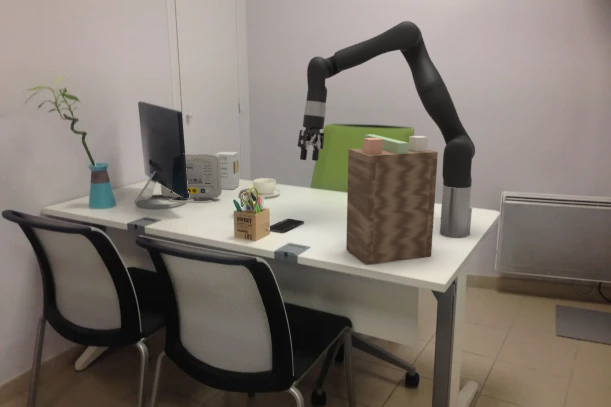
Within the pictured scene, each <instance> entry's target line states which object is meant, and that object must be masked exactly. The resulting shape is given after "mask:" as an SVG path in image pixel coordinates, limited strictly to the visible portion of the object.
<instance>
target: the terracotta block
mask: <svg viewBox="0 0 611 407" xmlns="http://www.w3.org/2000/svg"><path fill="white" fill-rule="evenodd" d="M382 145H383V139H379V138H365V137H364V138H363V147H362V148H363V152H364V153H368V154H381V153H382Z"/></svg>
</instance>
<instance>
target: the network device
mask: <svg viewBox="0 0 611 407" xmlns="http://www.w3.org/2000/svg"><path fill="white" fill-rule="evenodd" d="M184 154H185V155H186V168H187V181H188V191H189V195H190V198H189V199H188V198H187V199H188V200H187V199H186V200H179V199H182V198H181V197H180V196H179V195H177V194H175V193H173V192H172V191H170V190H169V189H167V188H166V187H164V186H163V185H161V184H160V190H161V195H162V196H163V197H171V198H169V199H168V201H169V203H183V202H186V203H189V204H190V203H192V204H198V203H199V204H209V203H212V202H213V201H214V200H215V199H216V198H219V197H220V196H221V195H222V189H221V165H220V156H219V155H217V153H214V154H213V153H184ZM178 197H180V198H178ZM173 199H174V200H173ZM177 199H178V200H177ZM199 199H200V200H199ZM201 199H205V200H201ZM207 199H208V200H207ZM186 203H185V204H186Z"/></svg>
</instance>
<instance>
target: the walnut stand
mask: <svg viewBox="0 0 611 407" xmlns="http://www.w3.org/2000/svg"><path fill="white" fill-rule="evenodd" d="M438 154H439V151H434V150H430V149H428V151H412V150H409V148H408V153H407V154H397V153H394V152H390V151H387V150H383V149H382V153H381V154H368V153H364V152H363V147H361V148H360V147H359V148H348V152H347V155H348V156H347V158H348V159H347V160H348V161H347V194H346V195H347V199H346V200H347V202H346V203H347V205H346V239H345V240H346V244H345V245H346V247H345V248H346V249H345V250H346V251H347V252H348V253H349V254H350V255H352V256H353V257H354V258H356V259H357V260H359V261H360V262H361V263H363V264H364V265H365V266H369V265H376V264H385V263H392V262H398V261H399V262H401V261H406V260H412V259H415V260H416V259H420V258H421V259H422V258H429V257H432V252H433V251H432V250H433V249H432V248H433V233H434V219H435V218H434V217H435V204H436V203H435V202H436V185H437V170H438Z"/></svg>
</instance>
